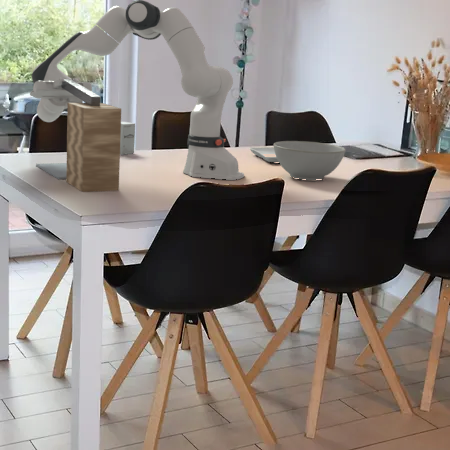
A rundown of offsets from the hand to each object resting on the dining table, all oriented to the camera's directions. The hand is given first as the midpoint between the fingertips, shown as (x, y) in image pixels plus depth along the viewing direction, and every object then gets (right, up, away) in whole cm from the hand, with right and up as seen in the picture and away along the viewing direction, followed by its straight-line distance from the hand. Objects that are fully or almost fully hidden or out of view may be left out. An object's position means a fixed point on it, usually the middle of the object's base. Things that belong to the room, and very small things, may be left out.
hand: (68, 80), depth 269 cm
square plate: (+80, -22, +68) cm, 107 cm away
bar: (+5, -7, -9) cm, 12 cm away
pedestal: (+10, -37, -14) cm, 41 cm away
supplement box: (+11, -20, +57) cm, 62 cm away
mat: (-2, -31, +8) cm, 32 cm away
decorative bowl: (+84, -32, +27) cm, 94 cm away
